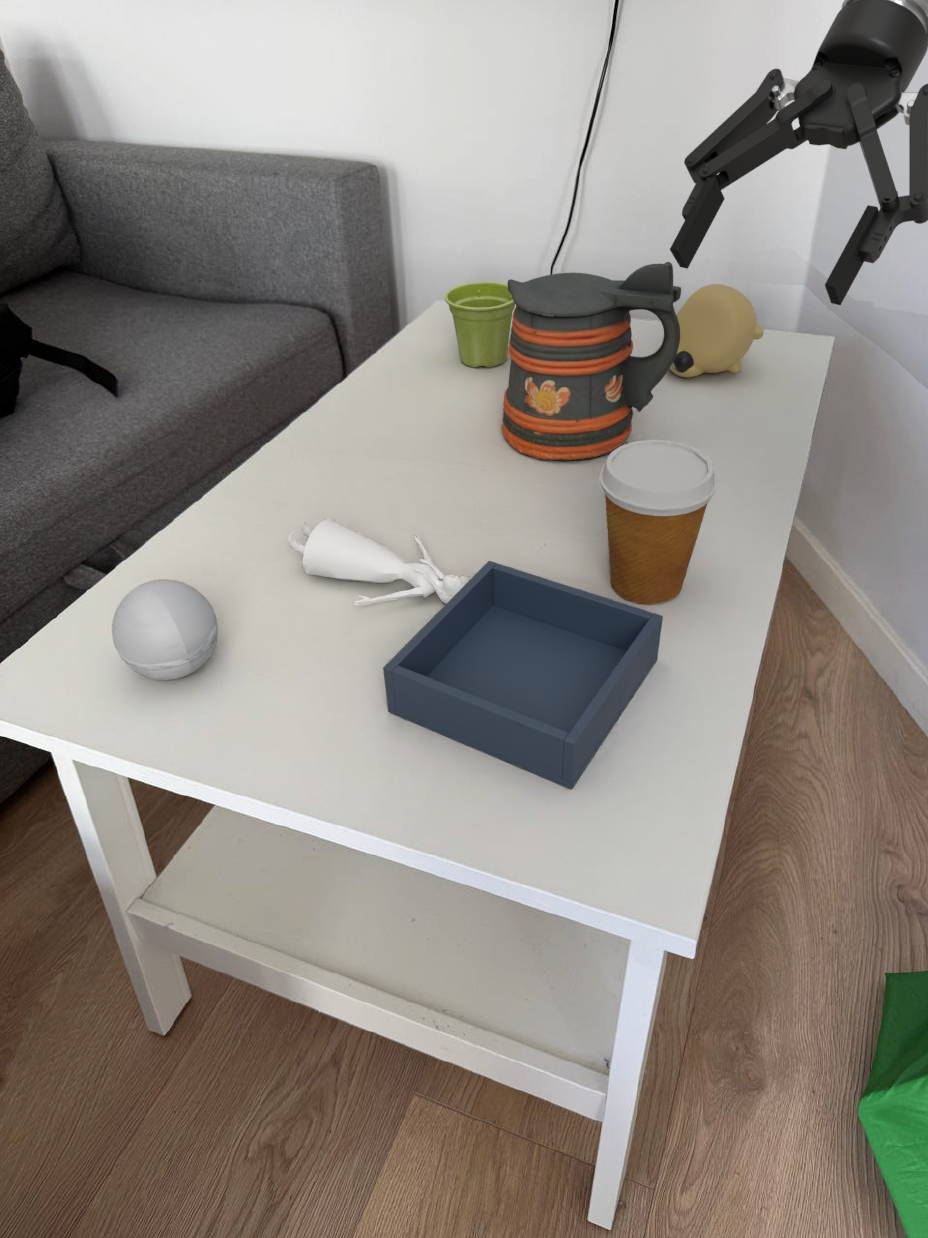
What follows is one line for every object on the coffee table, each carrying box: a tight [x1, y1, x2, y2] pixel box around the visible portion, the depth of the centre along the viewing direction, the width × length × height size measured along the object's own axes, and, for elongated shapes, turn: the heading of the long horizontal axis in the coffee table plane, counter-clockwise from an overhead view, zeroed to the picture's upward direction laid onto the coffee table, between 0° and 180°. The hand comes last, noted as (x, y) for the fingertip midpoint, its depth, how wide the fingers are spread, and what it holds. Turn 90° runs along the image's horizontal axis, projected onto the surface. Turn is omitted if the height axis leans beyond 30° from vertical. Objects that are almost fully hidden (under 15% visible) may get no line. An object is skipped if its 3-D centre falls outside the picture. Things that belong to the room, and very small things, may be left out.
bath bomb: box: [111, 578, 219, 681], centre depth 73 cm, size 8×8×8 cm
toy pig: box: [669, 283, 765, 379], centre depth 114 cm, size 10×12×11 cm
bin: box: [382, 560, 664, 790], centre depth 70 cm, size 16×16×5 cm
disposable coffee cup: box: [598, 439, 718, 605], centre depth 78 cm, size 10×10×12 cm
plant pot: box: [444, 281, 516, 368], centre depth 119 cm, size 9×9×9 cm
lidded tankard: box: [501, 261, 682, 462], centre depth 98 cm, size 19×15×20 cm
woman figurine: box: [288, 518, 471, 608], centre depth 82 cm, size 12×4×18 cm
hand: (751, 276), depth 72 cm, fingers open, 13 cm apart
